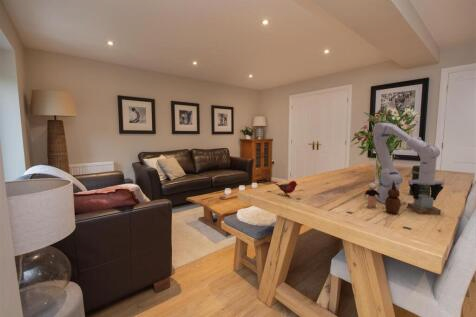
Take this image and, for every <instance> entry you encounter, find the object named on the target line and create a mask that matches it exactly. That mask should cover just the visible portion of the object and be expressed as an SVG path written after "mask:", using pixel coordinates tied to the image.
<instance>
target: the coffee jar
mask: <svg viewBox="0 0 476 317" xmlns="http://www.w3.org/2000/svg"><path fill="white" fill-rule="evenodd" d="M419 170H420V165H413V166H412V169H411V174H412V175H411V176H412V177H411V180H418V179H419ZM418 185H419V186H421V188H420V190H419V195H427V196H430V197H431V187H430V185H421V184H418ZM408 194H410V195H411V196H413V193H412V190H411V188H410V187H409V192H408Z"/></svg>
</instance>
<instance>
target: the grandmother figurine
mask: <svg viewBox="0 0 476 317" xmlns="http://www.w3.org/2000/svg"><path fill="white" fill-rule="evenodd" d="M376 188H377V185H376V184H375V183H374V182H371V183H368V189H369V190H366V191H365V192H364V194H363V198H366V197H367V205H366V208H368V209H377V199H376V198H377V196H378V198H380V195H379V193H378V192H377V189H376Z"/></svg>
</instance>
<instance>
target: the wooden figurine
mask: <svg viewBox="0 0 476 317" xmlns="http://www.w3.org/2000/svg"><path fill="white" fill-rule="evenodd" d="M400 194H401V193H400V189H399V190H396V187H395V182H394V181H393V183H392V189H389V190H388V196H389V197H387V198H386V202H385V203H384V205H385V210H386V212H387V213H390V214H398V213H399V210H400V208H401V204H400V202H401V200H400V198H399V197H400Z"/></svg>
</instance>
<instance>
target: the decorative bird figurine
mask: <svg viewBox="0 0 476 317" xmlns="http://www.w3.org/2000/svg"><path fill="white" fill-rule="evenodd" d="M273 184H275V186H277V187H278V188H279V189H280V191H282V192H283V193H284V194H283V195H285V196H287V197H291V195H290V194H291V193H293V192H294V191H295V189H296V187H297V186H298V184H297V181H296V180H291V181H289V182H288V183H282V184H278V183H275V182H273Z"/></svg>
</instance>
